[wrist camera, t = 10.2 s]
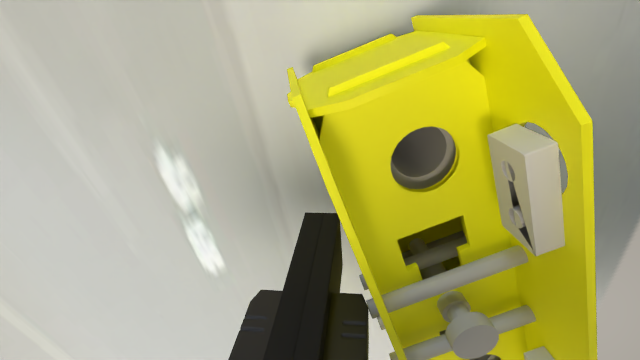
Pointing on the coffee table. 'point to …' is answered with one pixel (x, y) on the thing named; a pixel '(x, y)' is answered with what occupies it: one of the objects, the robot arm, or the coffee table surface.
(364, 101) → the yellow toy chassis
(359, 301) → the robot arm
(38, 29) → the coffee table surface
